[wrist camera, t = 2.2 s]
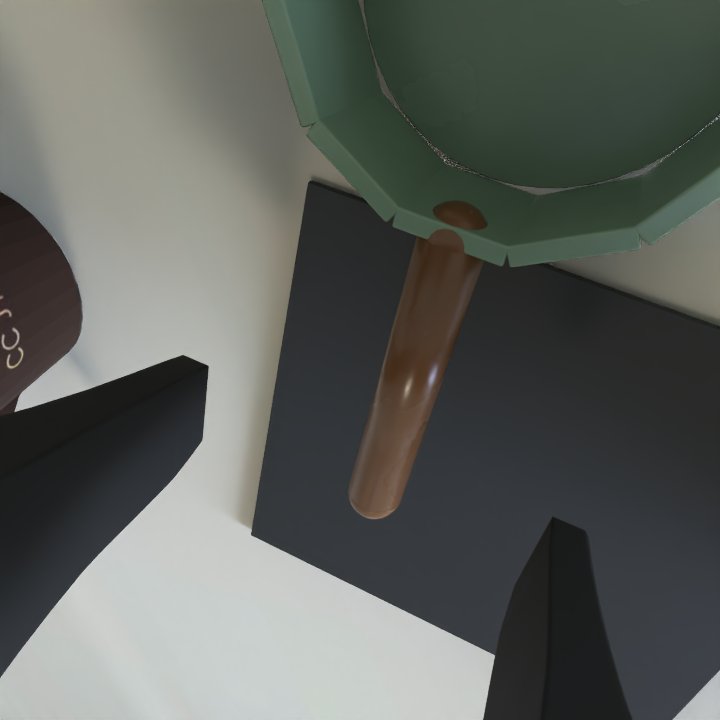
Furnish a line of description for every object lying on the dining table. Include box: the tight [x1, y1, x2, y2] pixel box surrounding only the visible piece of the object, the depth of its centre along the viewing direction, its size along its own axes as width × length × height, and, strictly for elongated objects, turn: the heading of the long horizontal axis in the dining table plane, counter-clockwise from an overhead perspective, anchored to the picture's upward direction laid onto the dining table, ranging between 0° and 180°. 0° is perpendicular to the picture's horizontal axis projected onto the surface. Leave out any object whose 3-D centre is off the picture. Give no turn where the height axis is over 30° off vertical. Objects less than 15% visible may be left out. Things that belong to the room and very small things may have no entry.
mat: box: [251, 181, 720, 720], centre depth 19 cm, size 15×14×1 cm
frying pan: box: [262, 0, 720, 519], centre depth 13 cm, size 17×8×4 cm, turn 169°
